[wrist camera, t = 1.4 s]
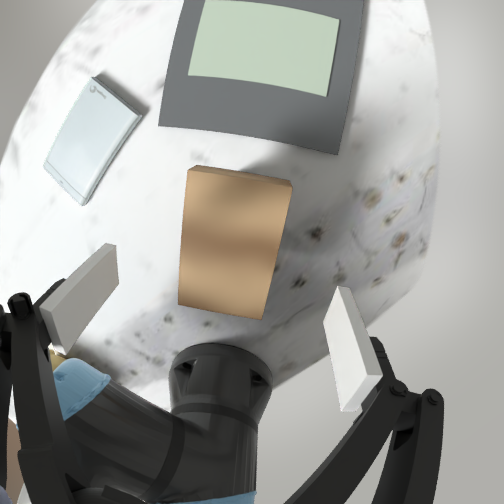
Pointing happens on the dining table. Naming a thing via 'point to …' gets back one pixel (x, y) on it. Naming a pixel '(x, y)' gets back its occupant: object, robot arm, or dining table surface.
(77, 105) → the hard drive
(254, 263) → the card box
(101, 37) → the dining table surface
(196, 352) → the robot arm
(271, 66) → the mat
